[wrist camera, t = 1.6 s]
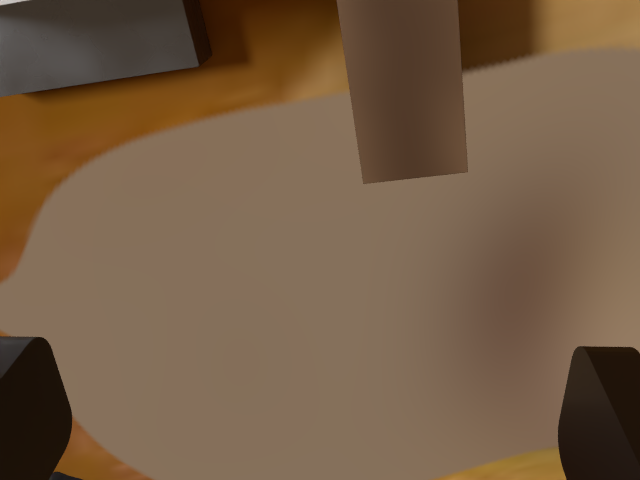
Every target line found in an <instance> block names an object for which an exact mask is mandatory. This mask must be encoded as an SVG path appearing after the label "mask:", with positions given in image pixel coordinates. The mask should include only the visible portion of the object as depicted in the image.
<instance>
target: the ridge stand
mask: <svg viewBox="0 0 640 480" xmlns="http://www.w3.org/2000/svg"><path fill="white" fill-rule="evenodd" d="M211 56H212V53H211V49H210V45H209V41H208V37H207V33H206V29H205V25H204V21H203V16H202V12H201V8H200V4H199V0H0V97H2V96H9V95H15V94H22V93H28V92H35V91H41V90H48V89H54V88H61V87H68V86H74V85H81V84H87V83H94V82H100V81H107V80H113V79H120V78H126V77H133V76H140V75H146V74H153V73H159V72H166V71H172V70H179V69H185V68H192V67H198V66H200V65H201V64H202V63H204V62H205V61H206V60H207V59H208V58H209V57H211Z"/></svg>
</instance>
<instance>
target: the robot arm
mask: <svg viewBox="0 0 640 480" xmlns="http://www.w3.org/2000/svg"><path fill="white" fill-rule="evenodd" d="M71 429H72V412H71V407H70V404H69V401H68V398H67V395H66V392H65V389H64V386H63V382H62V379H61V376H60V374H59V370H58V367H57V364H56V361H55V358H54V355H53V352H52V349H51V346H50V345H49V343H48V341H47V340H46V339H44V338H42V337H2V336H0V480H49V478H50V477H51V475H52V473H53V471H54V469H55V468H56V466H57V464H58V462H59V460H60V459H61V457H62V455H63V453H64V451H65V449H66V447H67V445H68V442H69V439H70V435H71ZM558 444H559V453H560V459H561V463H562V467H563V470H564V473H565V476H566V479H567V480H640V353H639V352H638V351H637V350H636V349H635V348H632V347H586V346H580V347H577V348H576V349H575V351H574V353H573V356H572V360H571V365H570V370H569V375H568V380H567V384H566V390H565V395H564V399H563V404H562V409H561V414H560V419H559V426H558Z"/></svg>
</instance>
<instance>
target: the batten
mask: <svg viewBox="0 0 640 480" xmlns="http://www.w3.org/2000/svg"><path fill="white" fill-rule="evenodd" d="M337 7H338V14H339V20H340V27H341V34H342V41H343V48H344V55H345V61H346V68H347V75H348V82H349V89H350V96H351V102H352V109H353V116H354V123H355V130H356V136H357V143H358V150H359V157H360V164H361V170H362V178H363V184H367V183H375V182H385V181H394V180H403V179H411V178H420V177H429V176H438V175H447V174H455V173H465V172H468V169H467V168H468V167H467V150H466V134H465V117H464V101H463V83H462V66H461V49H460V32H459V16H458V0H337Z"/></svg>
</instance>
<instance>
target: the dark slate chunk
mask: <svg viewBox="0 0 640 480" xmlns="http://www.w3.org/2000/svg"><path fill="white" fill-rule="evenodd" d="M49 480H82V479H79V478H75V477H71V476H68V475H65V474H63V473H60V472H55V473H52V475H51V477H50V478H49Z"/></svg>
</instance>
